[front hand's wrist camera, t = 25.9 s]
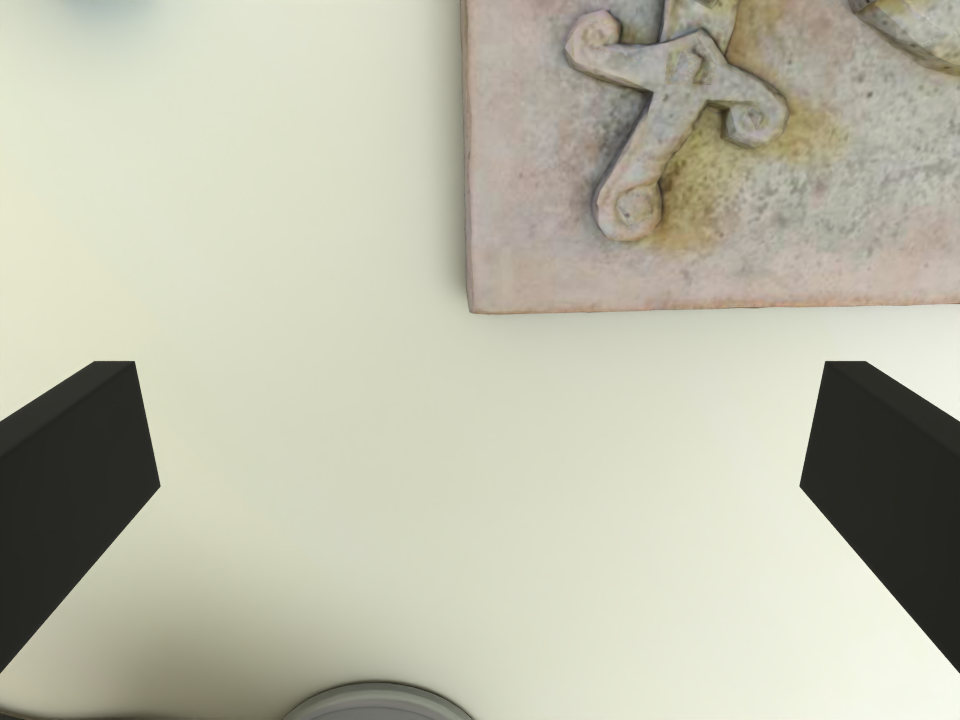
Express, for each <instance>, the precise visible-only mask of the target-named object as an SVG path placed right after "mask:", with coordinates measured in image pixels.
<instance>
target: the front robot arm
mask: <svg viewBox="0 0 960 720" xmlns="http://www.w3.org/2000/svg"><path fill="white" fill-rule="evenodd" d="M159 488H160V481H159V476H158V471H157V466H156V462H155V457H154V452H153V447H152V442H151V438H150V433H149V428H148V423H147V418H146V413H145V409H144V404H143V399H142V394H141V389H140V384H139V380H138V375H137V370H136V365H135V361H94V362H92V363H91V364H89V365H88V366H86V367H85V368H83V369H81V370H80V371H78V372H77V373H75V374H74V375H72V376H71V377H69V378H67V379H66V380H64V381H63V382H61V383H60V384H58V385H56V386H55V387H53V388H52V389H50V390H49V391H47V392H46V393H44V394H42V395H41V396H39V397H38V398H36V399H35V400H33V401H32V402H30V403H28V404H27V405H25V406H24V407H22V408H21V409H19V410H18V411H16V412H14V413H13V414H11V415H10V416H8V417H7V418H5V419H4V420H2V421H0V673H1V672H2V671H3V670H4V669H5V667H6V666H7V665H8V664H9V663H10V662H11V660H12V659H13V658H14V657H15V656H16V655H17V653H18V652H19V651H20V650H21V649H22V648H23V646H24V645H25V644H26V643H27V642H28V641H29V639H30V638H31V637H32V636H33V635H34V634H35V632H36V631H37V630H38V629H39V628H40V627H41V625H42V624H43V623H44V622H45V621H46V620H47V618H48V617H49V616H50V615H51V614H52V612H53V611H54V610H55V609H56V608H57V607H58V605H59V604H60V603H61V602H62V601H63V600H64V598H65V597H66V596H67V595H68V594H69V593H70V591H71V590H72V589H73V588H74V587H75V586H76V584H77V583H78V582H79V581H80V580H81V579H82V577H83V576H84V575H85V574H86V573H87V572H88V570H89V569H90V568H91V567H92V566H93V565H94V563H95V562H96V561H97V560H98V559H99V558H100V556H101V555H102V554H103V553H104V552H105V551H106V549H107V548H108V547H109V546H110V545H111V544H112V542H113V541H114V540H115V539H116V538H117V537H118V535H119V534H120V533H121V532H122V531H123V530H124V528H125V527H126V526H127V525H128V524H129V523H130V521H131V520H132V519H133V518H134V517H135V516H136V514H137V513H138V512H139V511H140V510H141V509H142V507H143V506H144V505H145V504H146V503H147V502H148V500H149V499H150V498H151V497H152V496H153V495H154V493H155V492H156V491H157V490H158V489H159ZM800 488H801V489H802V490H803V491H804V492H805V493H806V495H807V496H808V497H809V498H810V499H811V500H812V502H813V503H814V504H815V505H816V506H817V507H818V509H819V510H820V511H821V512H822V513H823V514H824V516H825V517H826V518H827V519H828V520H829V521H830V523H831V524H832V525H833V526H834V527H835V528H836V530H837V531H838V532H839V533H840V534H841V535H842V537H843V538H844V539H845V540H846V541H847V542H848V544H849V545H850V546H851V547H852V548H853V549H854V551H855V552H856V553H857V554H858V555H859V556H860V558H861V559H862V560H863V561H864V562H865V563H866V565H867V566H868V567H869V568H870V569H871V570H872V572H873V573H874V574H875V575H876V576H877V577H878V579H879V580H880V581H881V582H882V583H883V584H884V586H885V587H886V588H887V589H888V590H889V591H890V593H891V594H892V595H893V596H894V597H895V598H896V600H897V601H898V602H899V603H900V604H901V605H902V607H903V608H904V609H905V610H906V611H907V612H908V614H909V615H910V616H911V617H912V618H913V620H914V621H915V622H916V623H917V624H918V625H919V627H920V628H921V629H922V630H923V631H924V632H925V634H926V635H927V636H928V637H929V638H930V639H931V641H932V642H933V643H934V644H935V645H936V646H937V648H938V649H939V650H940V651H941V652H942V653H943V655H944V656H945V657H946V658H947V659H948V660H949V662H950V663H951V664H952V665H953V666H954V667H955V669H956V670H957V671H958V672H959V673H960V421H958V420H956V419H955V418H953V417H952V416H950V415H949V414H947V413H946V412H944V411H942V410H941V409H939V408H938V407H936V406H935V405H933V404H932V403H930V402H928V401H927V400H925V399H924V398H922V397H921V396H919V395H918V394H916V393H914V392H913V391H911V390H910V389H908V388H907V387H905V386H904V385H902V384H900V383H899V382H897V381H896V380H894V379H893V378H891V377H889V376H888V375H886V374H885V373H883V372H882V371H880V370H879V369H877V368H875V367H874V366H872V365H871V364H869V363H868V362H866V361H825V365H824V370H823V375H822V380H821V384H820V389H819V394H818V399H817V404H816V409H815V413H814V418H813V423H812V428H811V433H810V438H809V442H808V447H807V452H806V457H805V462H804V466H803V471H802V476H801V481H800ZM0 720H24V719H20V718H15V717H12V716H8V715H4V714H1V713H0ZM283 720H472V719H471V718H470V717H469V716H468V715H467V714H466V713H465V712H464V711H462V710H461V709H460V708H458V707H457V706H455V705H454V704H452V703H450V702H449V701H447V700H445V699H443V698H441V697H439V696H437V695H435V694H432V693H430V692H427V691H424V690H421V689H417V688H414V687H409V686H404V685H398V684H390V683H362V684H353V685H347V686H342V687H338V688H335V689H331V690H328V691H325V692H323V693H320V694H318V695H316V696H314V697H311V698H310V699H308V700H306V701H304V702H303V703H301V704H300V705H298V706H297V707H296V708H294V709H293V710H292V711H291V712H290V713H288V714H287V715H286V716H285V717H284V719H283Z"/></svg>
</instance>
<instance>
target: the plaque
mask: <svg viewBox="0 0 960 720" xmlns="http://www.w3.org/2000/svg"><path fill="white" fill-rule="evenodd" d="M460 7H461V45H462V93H463V125H464V162H465V194H464V196H465V238H466V285H467V298H468V307H469V311H470V312H471V313H475V314H525V313H567V312H608V311H644V310H684V309H725V308H764V307H831V306H871V305H924V304H960V0H460Z"/></svg>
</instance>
